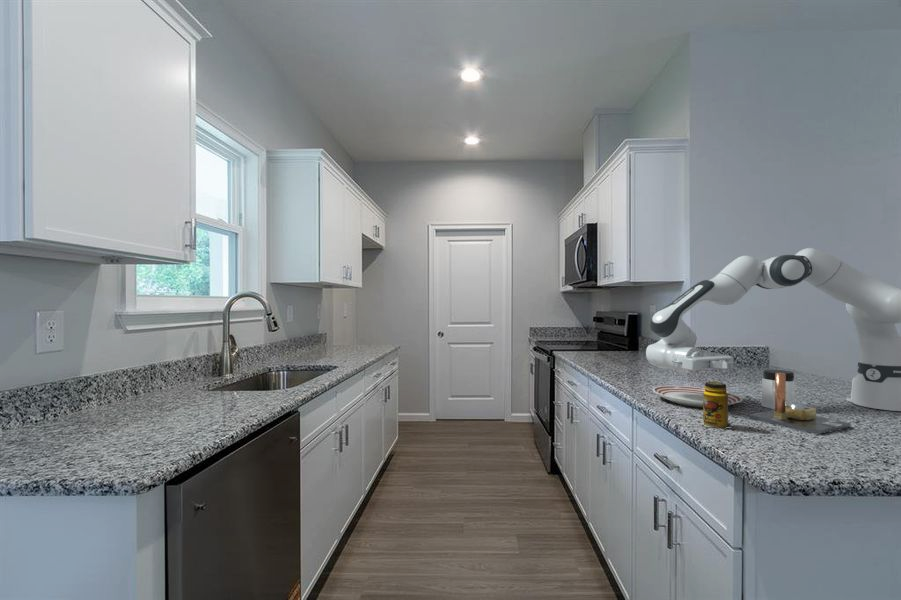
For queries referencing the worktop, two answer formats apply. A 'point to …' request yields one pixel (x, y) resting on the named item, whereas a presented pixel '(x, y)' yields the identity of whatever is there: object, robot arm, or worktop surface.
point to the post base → (803, 421)
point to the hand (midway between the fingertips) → (729, 365)
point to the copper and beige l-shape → (783, 408)
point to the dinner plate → (689, 395)
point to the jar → (769, 387)
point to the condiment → (715, 405)
